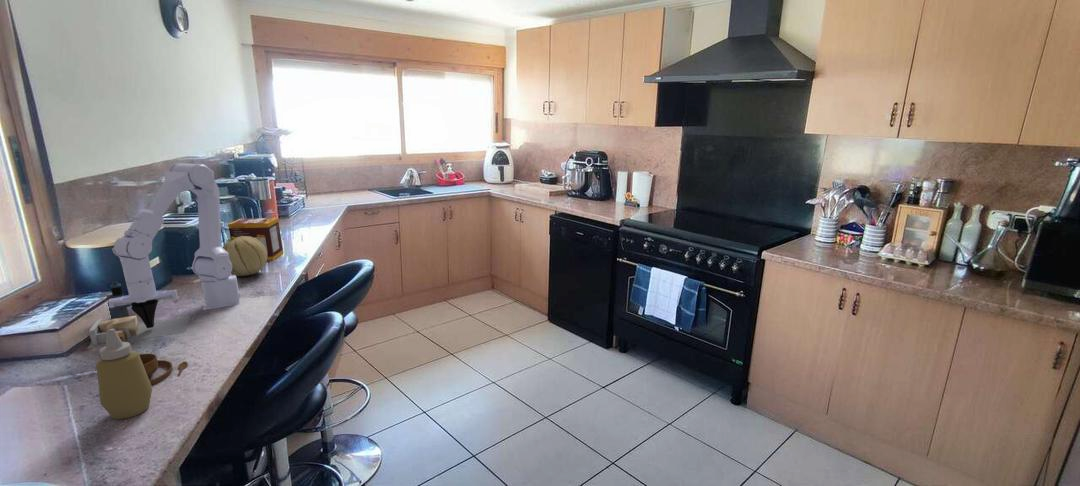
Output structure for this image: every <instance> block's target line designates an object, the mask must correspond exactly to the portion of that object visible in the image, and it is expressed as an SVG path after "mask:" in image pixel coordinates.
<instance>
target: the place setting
mask: <svg viewBox="0 0 1080 486" xmlns="http://www.w3.org/2000/svg"><path fill="white" fill-rule="evenodd" d="M119 338H120V339H121V341H122V342H125V341H124V337H119ZM139 356H140V358H141V361H142V363H143V366H144V368H145V371H146V373H147V376H148V378H149V381H150V384H151V386H152V385H156V384H157V383H159V382H162V381H163V380H164V379H166V378H167V377H168V376H169V375H170V374H171V373H172V372H173V369H174V367H173V363H172V362H171V361H169V360H163V359H158V358H157V355H156V354H154V353H141V354H139ZM159 367H161V368H162V367H163V368H165V369H167V371H165V373H164V372H163V374H161V375H159V376H158V377H155V378H153V379H150V378H151V377H152V376H153V374H154V373H156V371H157V370H158V368H159ZM187 367H188V362H187V361H182V362H180V363H179V364H178V366H177V368H178V370H179V371H178V373H177V375H176V378H179V377H181V374H182V372H183V370H185V369H186V368H187Z"/></svg>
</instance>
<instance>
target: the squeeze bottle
mask: <svg viewBox="0 0 1080 486" xmlns="http://www.w3.org/2000/svg"><path fill="white" fill-rule="evenodd" d="M139 355H140V354H139V352H136V351H134V350H133V349H132V345H131V342H122V341H121V339H120V338H119V336H118V334H117V332H116V331H115V329H109V330H107V335H106V346H102V347H101V348H100V349H99V356H100V359H99V360H98V361H97V362H96V374H97V384H98V391H99V393H98V394H99V401H100V405H101V406H102V407H103V409H104V410H105V411H106V412H107V413H108V415H110V417H111V418H113V419H115V420H123V419H128V418H132V417H135V416H138V415H140V414H142V413H143V412H145V411H146V410H148V408H149V407H150V404H151V397H152V394H153V393H152V392H153V387H152V385H151V384H150V377H149V378H148V376H147V373H146V371H145V368H144V366H143V363H142V361H141V358H140V356H139Z"/></svg>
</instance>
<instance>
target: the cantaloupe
mask: <svg viewBox="0 0 1080 486" xmlns="http://www.w3.org/2000/svg"><path fill="white" fill-rule="evenodd" d="M229 239H230V240H228V241H226V242H225V243H224V245H223V246H222V248H223V249H224V250H225V251H226V252H228V254H229V259H230V261H231V263H232V272H231V273H230V275H231V274H232V275H236V276H238V277H246V276H251V275H255V274H257V273H258V272H259V271H261V270H262V269H263V268H264V267H265V265H266V264H267V261H268V260H267V251H266V248H265V246H264V245H263V244H262V243H261V242H260V241H259V240H257V239H256V238H253V237H250V236H240V237H236V238H234V237H231V238H230V237H229Z"/></svg>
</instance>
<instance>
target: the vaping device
mask: <svg viewBox="0 0 1080 486" xmlns="http://www.w3.org/2000/svg"><path fill="white" fill-rule="evenodd" d="M110 291H111V292H110V293H106V295H105V296H106V297H105V300H106V299H107V300H108V301H109V299H113V298H118V297H123V296H125V294H124V291H123V288H122V284H121V283H119V282H118V281H112V284H111V285H110ZM108 306H109V304H108ZM109 311H110V315H111V319H117V318H123V317H129V316H130V315H129V312H128V311H129V310H128V305H122V306H115V307H114V308H109Z"/></svg>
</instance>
